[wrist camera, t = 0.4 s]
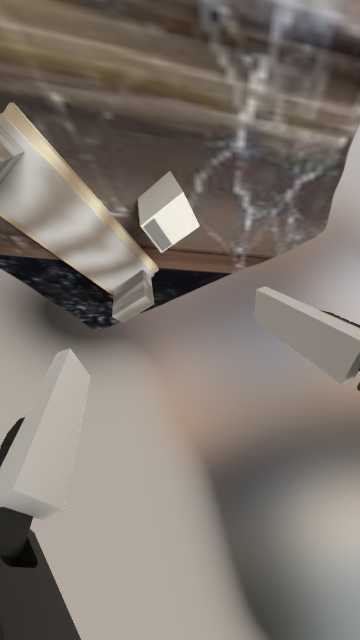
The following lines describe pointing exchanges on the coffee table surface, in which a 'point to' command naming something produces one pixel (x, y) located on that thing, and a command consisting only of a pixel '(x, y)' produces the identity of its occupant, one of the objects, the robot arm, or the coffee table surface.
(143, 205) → the block
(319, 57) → the coffee table surface
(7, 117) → the board
